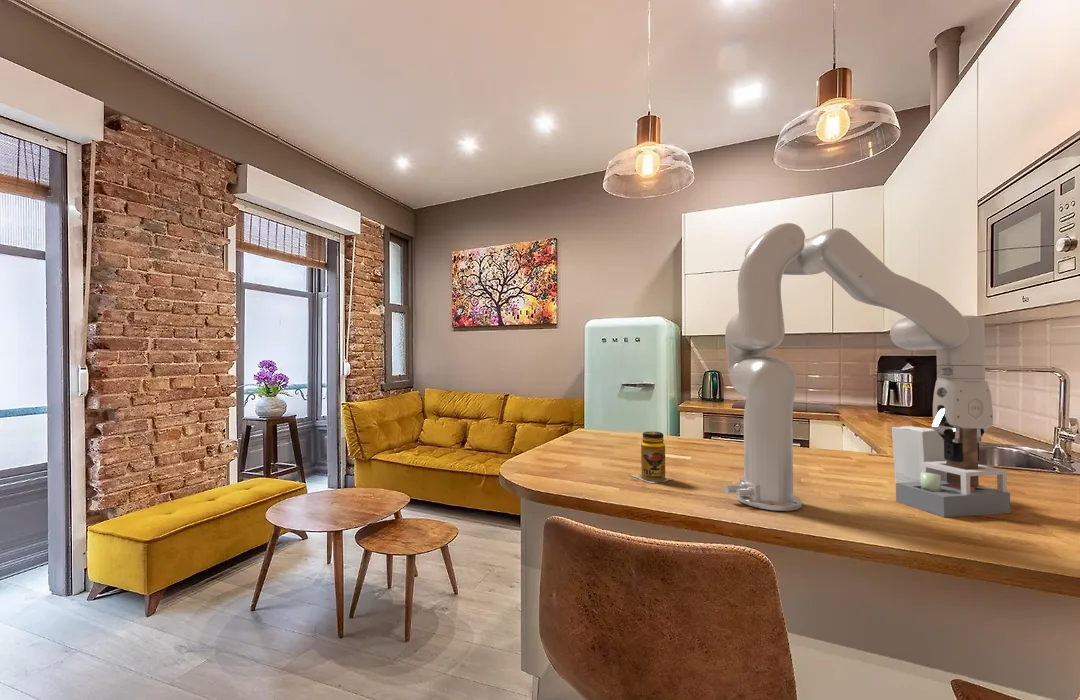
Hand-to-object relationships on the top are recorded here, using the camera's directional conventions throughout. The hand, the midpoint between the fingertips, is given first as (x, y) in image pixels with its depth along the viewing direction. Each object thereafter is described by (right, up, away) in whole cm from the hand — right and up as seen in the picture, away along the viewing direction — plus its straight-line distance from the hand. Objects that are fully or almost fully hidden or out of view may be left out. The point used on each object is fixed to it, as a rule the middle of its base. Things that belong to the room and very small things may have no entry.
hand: (961, 459), depth 95 cm
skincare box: (0, -10, +11) cm, 15 cm away
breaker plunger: (0, -9, 0) cm, 9 cm away
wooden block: (0, -5, 0) cm, 5 cm away
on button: (-8, -6, -1) cm, 10 cm away
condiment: (-60, -11, +22) cm, 65 cm away
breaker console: (-3, -10, -1) cm, 10 cm away
